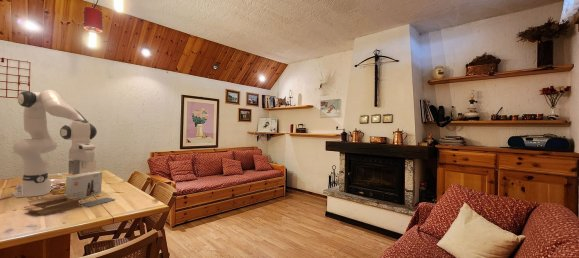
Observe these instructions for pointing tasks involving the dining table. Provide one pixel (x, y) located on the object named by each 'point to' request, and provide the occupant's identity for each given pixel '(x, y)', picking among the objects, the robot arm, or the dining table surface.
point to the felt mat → (97, 202)
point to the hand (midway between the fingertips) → (80, 167)
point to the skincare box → (84, 185)
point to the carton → (53, 204)
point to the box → (76, 167)
